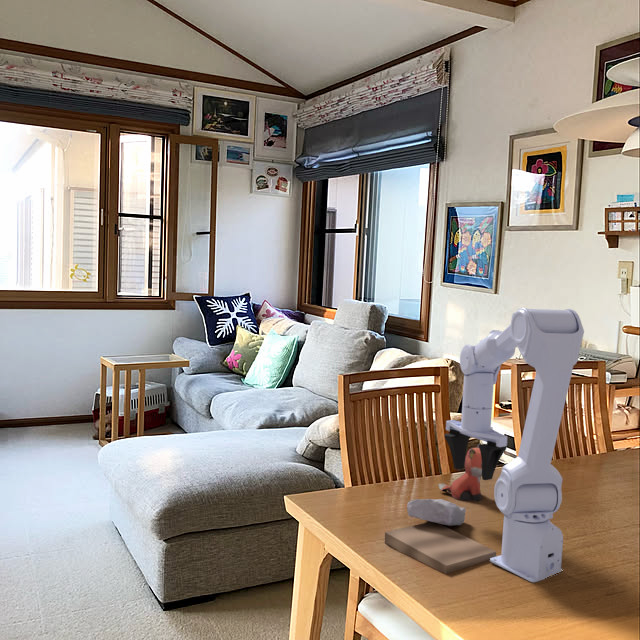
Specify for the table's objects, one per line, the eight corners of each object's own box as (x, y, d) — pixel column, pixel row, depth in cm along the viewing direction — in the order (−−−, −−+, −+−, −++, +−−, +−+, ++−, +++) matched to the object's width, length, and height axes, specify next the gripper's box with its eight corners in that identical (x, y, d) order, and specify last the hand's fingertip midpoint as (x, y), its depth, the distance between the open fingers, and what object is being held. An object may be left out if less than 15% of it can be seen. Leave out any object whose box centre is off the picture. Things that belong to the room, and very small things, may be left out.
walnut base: (495, 562, 125) (496, 551, 125) (445, 577, 118) (446, 565, 118) (432, 531, 138) (433, 521, 138) (384, 542, 131) (385, 532, 131)
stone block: (402, 524, 135) (454, 525, 131) (402, 498, 136) (454, 498, 132) (418, 526, 145) (467, 527, 141) (418, 502, 147) (466, 502, 143)
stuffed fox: (440, 488, 164) (443, 437, 163) (489, 495, 160) (493, 443, 159) (433, 498, 157) (436, 444, 156) (485, 506, 153) (488, 451, 152)
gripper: (519, 412, 136) (515, 481, 138) (464, 397, 148) (460, 461, 149) (494, 415, 132) (489, 486, 134) (439, 400, 144) (436, 465, 146)
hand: (472, 473), depth 141 cm, fingers open, 7 cm apart
